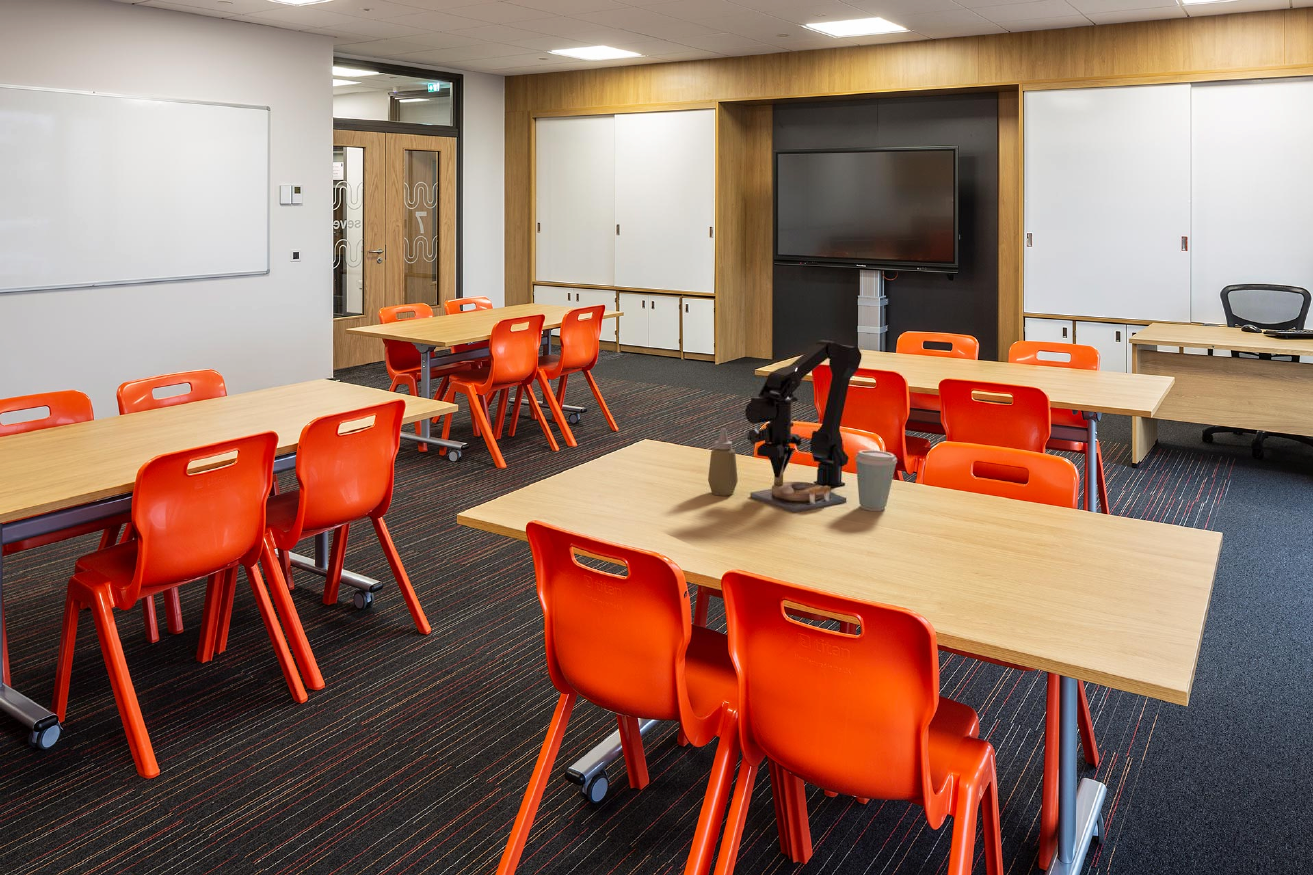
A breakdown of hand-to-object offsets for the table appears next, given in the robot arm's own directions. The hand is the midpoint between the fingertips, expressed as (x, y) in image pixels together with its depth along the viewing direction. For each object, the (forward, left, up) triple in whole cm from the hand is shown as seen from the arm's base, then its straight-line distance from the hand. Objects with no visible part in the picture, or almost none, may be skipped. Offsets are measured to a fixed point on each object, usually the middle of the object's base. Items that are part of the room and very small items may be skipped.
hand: (778, 476), depth 275 cm
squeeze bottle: (+11, -10, -6) cm, 16 cm away
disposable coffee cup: (-13, +23, -6) cm, 27 cm away
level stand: (-2, +6, -6) cm, 8 cm away
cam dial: (-2, +6, -4) cm, 7 cm away
